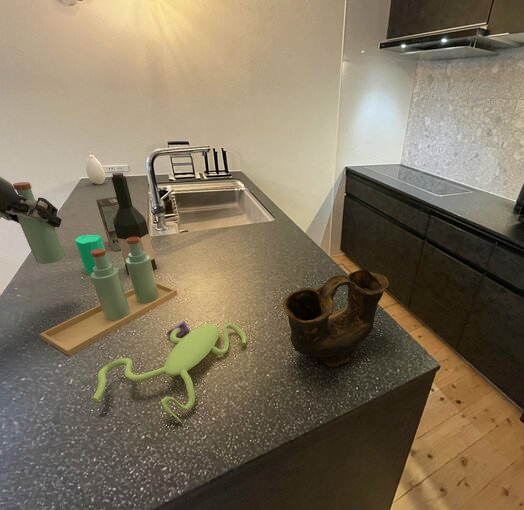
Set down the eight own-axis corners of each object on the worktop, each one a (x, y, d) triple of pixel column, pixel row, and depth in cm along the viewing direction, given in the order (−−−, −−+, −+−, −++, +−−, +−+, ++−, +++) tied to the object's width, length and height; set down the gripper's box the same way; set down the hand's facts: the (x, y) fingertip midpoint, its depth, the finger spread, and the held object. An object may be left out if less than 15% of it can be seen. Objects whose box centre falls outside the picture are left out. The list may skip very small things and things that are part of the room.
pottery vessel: (360, 319, 82) (369, 253, 73) (388, 343, 74) (402, 274, 65) (275, 356, 68) (272, 281, 59) (299, 391, 60) (301, 311, 51)
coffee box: (135, 246, 108) (124, 203, 101) (113, 251, 104) (100, 206, 97) (128, 238, 114) (117, 196, 107) (107, 242, 110) (94, 199, 103)
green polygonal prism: (81, 271, 92) (67, 235, 86) (100, 263, 97) (89, 228, 92) (96, 276, 91) (83, 239, 85) (115, 266, 96) (104, 231, 90)
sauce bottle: (107, 185, 169) (97, 151, 161) (89, 186, 165) (79, 151, 157) (108, 181, 175) (99, 149, 167) (91, 182, 171) (81, 149, 163)
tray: (70, 357, 63) (67, 350, 63) (42, 340, 67) (39, 333, 66) (177, 295, 85) (176, 289, 84) (152, 285, 89) (151, 279, 88)
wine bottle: (147, 261, 100) (125, 168, 86) (163, 269, 97) (142, 174, 83) (120, 271, 94) (91, 173, 80) (135, 280, 90) (108, 179, 76)
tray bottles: (113, 323, 73) (92, 258, 65) (100, 316, 75) (77, 252, 67) (163, 296, 84) (150, 237, 76) (150, 290, 85) (135, 232, 77)
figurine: (82, 407, 54) (72, 386, 52) (189, 318, 77) (186, 300, 75) (169, 442, 50) (162, 420, 47) (254, 336, 73) (253, 318, 70)
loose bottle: (39, 266, 68) (6, 188, 60) (33, 258, 71) (1, 182, 63) (68, 258, 72) (41, 184, 64) (62, 251, 74) (35, 179, 66)
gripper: (20, 167, 55) (83, 209, 71) (-72, 163, 53) (13, 207, 69) (8, 204, 53) (75, 239, 69) (-90, 201, 51) (3, 237, 67)
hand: (44, 222), depth 69 cm, fingers closed on loose bottle, 5 cm apart
